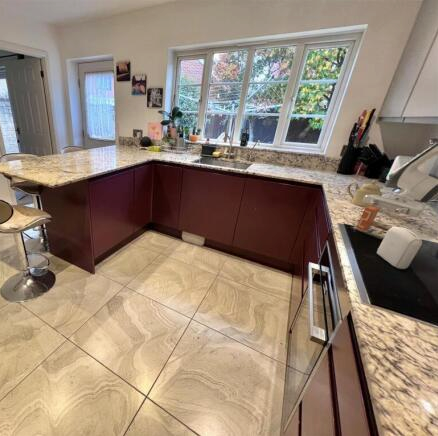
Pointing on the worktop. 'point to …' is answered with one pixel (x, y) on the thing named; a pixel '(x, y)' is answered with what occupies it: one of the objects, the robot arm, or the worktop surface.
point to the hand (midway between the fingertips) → (383, 207)
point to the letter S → (367, 218)
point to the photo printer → (399, 247)
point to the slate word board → (372, 232)
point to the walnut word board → (380, 225)
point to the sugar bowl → (364, 193)
